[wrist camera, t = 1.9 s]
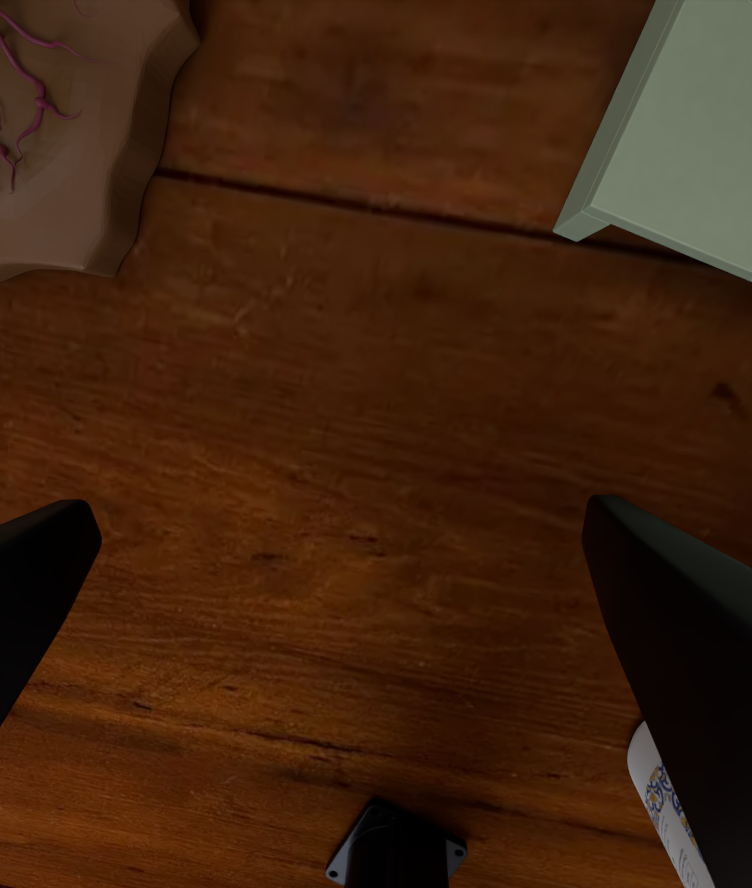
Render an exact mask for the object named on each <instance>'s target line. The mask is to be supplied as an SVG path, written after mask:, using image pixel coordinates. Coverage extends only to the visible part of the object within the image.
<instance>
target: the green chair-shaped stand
mask: <svg viewBox="0 0 752 888" xmlns="http://www.w3.org/2000/svg"><path fill="white" fill-rule="evenodd" d="M610 224H613V225H615V226H618V227H620V228H622V229H625V230H627V231H630V232H632V233H635V234H637V235H639V236H642V237H644V238H647V239H649V240H651V241H654V242H656V243H659V244H661V245H664V246H666V247H668V248H671V249H673V250H676V251H678V252H681V253H683V254H685V255H688V256H690V257H693V258H695V259H697V260H700V261H702V262H705V263H707V264H710V265H712V266H714V267H717V268H719V269H722V270H724V271H726V272H729V273H731V274H734V275H736V276H739V277H741V278H743V279H746V280H748V281H751V282H752V0H656V2H655V4H654V6H653V8H652V11H651V13H650V15H649V17H648V20H647V22H646V24H645V26H644V28H643V31H642V33H641V35H640V37H639V40H638V42H637V44H636V46H635V48H634V51H633V53H632V55H631V57H630V60H629V62H628V64H627V66H626V68H625V71H624V73H623V75H622V77H621V80H620V82H619V84H618V86H617V89H616V91H615V93H614V95H613V97H612V100H611V102H610V104H609V106H608V109H607V111H606V113H605V115H604V117H603V120H602V122H601V124H600V126H599V129H598V131H597V133H596V135H595V137H594V140H593V142H592V144H591V146H590V149H589V151H588V153H587V155H586V158H585V160H584V162H583V164H582V166H581V169H580V171H579V173H578V175H577V178H576V180H575V182H574V184H573V186H572V189H571V191H570V193H569V195H568V198H567V200H566V202H565V204H564V206H563V209H562V211H561V213H560V215H559V218H558V220H557V222H556V224H555V227H554V229H553V232H554V233H556V234H559V235H561V236H563V237H566V238H568V239H571V240H573V241H576V242H578V241H580V240H582V239H584V238H586V237H587V236H589V235H591V234H593V233H595V232H597V231H599V230H601V229H602V228H604V227H606V226H608V225H610Z"/></svg>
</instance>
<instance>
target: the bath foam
mask: <svg viewBox="0 0 752 888" xmlns="http://www.w3.org/2000/svg"><path fill="white" fill-rule="evenodd" d="M627 762H628V768H629V772H630V775H631V778H632V780H633V782H634V785H635V787H636V789H637V791H638V793H639V795H640V797H641V799H642V801H643V803H644V805H645V807H646V809H647V811H648V814H649V816H650V818H651V820H652V822H653V824H654V826H655V828H656V830H657V832H658V834H659V836H660V838H661V840H662V842H663V844H664V846H665V848H666V850H667V852H668V854H669V856H670V858H671V861H672V863H673V865H674V867H675V869H676V871H677V873H678V875H679V877H680V879H681V881H682V883H683V885H684V887H685V888H715V886H714V884H713V882H712V879H711V877H710V874H709V872H708V870H707V867H706V865H705V862H704V860H703V858H702V855H701V853H700V851H699V848H698V846H697V843H696V841H695V839H694V836H693V834H692V832H691V829H690V827H689V824H688V822H687V820H686V817H685V815H684V813H683V810H682V808H681V805H680V803H679V801H678V798H677V796H676V793H675V791H674V789H673V786H672V784H671V782H670V779H669V777H668V774H667V772H666V770H665V767H664V765H663V763H662V760H661V758H660V755H659V753H658V751H657V748H656V746H655V744H654V741H653V739H652V736H651V734H650V732H649V729H648V727H647V724H646V722H645V721H644V722H643V723H642V724H641V725H640V726H639V727H638V728H637V730H636V732H635V733H634V735H633V738H632V740H631V743H630V746H629V749H628V755H627Z"/></svg>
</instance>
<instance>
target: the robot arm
mask: <svg viewBox="0 0 752 888" xmlns="http://www.w3.org/2000/svg"><path fill="white" fill-rule="evenodd" d="M101 544H102V537H101V533H100V530H99V528H98V525H97V523H96V520H95V517H94V515H93V512H92V510H91V507H90V505H89V504H88V503H87V502H86V501H84V500H81V499H72V500H59V501H57V502H54V503H52V504H49V505H47V506H45V507H42V508H40V509H37V510H35V511H33V512H30V513H28V514H25V515H23V516H20V517H18V518H16V519H13V520H11V521H8V522H6V523H4V524H1V525H0V726H1V725H2V723H3V721H4V720H5V718H6V717H7V715H8V713H9V712H10V710H11V708H12V707H13V705H14V704H15V702H16V700H17V699H18V697H19V695H20V694H21V692H22V690H23V689H24V687H25V686H26V684H27V682H28V681H29V679H30V677H31V676H32V674H33V672H34V671H35V669H36V668H37V666H38V664H39V663H40V661H41V659H42V658H43V656H44V655H45V653H46V651H47V650H48V648H49V646H50V645H51V643H52V641H53V640H54V638H55V637H56V635H57V633H58V632H59V630H60V628H61V626H62V625H63V623H64V621H65V619H66V617H67V615H68V613H69V612H70V610H71V608H72V606H73V604H74V601H75V599H76V597H77V595H78V593H79V591H80V589H81V587H82V585H83V583H84V581H85V579H86V577H87V575H88V573H89V571H90V569H91V567H92V565H93V563H94V560H95V558H96V556H97V554H98V552H99V550H100V548H101ZM582 546H583V550H584V554H585V557H586V561H587V564H588V568H589V571H590V574H591V578H592V581H593V585H594V588H595V592H596V595H597V599H598V602H599V606H600V609H601V613H602V616H603V619H604V622H605V625H606V628H607V631H608V633H609V636H610V639H611V641H612V644H613V646H614V648H615V651H616V653H617V655H618V658H619V660H620V663H621V665H622V667H623V670H624V672H625V675H626V677H627V679H628V682H629V684H630V686H631V689H632V691H633V694H634V696H635V698H636V701H637V703H638V705H639V708H640V710H641V713H642V715H643V717H644V720H645V722H646V724H647V727H648V729H649V732H650V734H651V736H652V739H653V741H654V744H655V746H656V748H657V751H658V753H659V755H660V758H661V760H662V763H663V765H664V767H665V770H666V772H667V774H668V777H669V779H670V782H671V784H672V786H673V789H674V791H675V793H676V796H677V798H678V801H679V803H680V805H681V808H682V810H683V813H684V815H685V817H686V820H687V822H688V824H689V827H690V829H691V832H692V834H693V836H694V839H695V841H696V843H697V846H698V848H699V851H700V853H701V855H702V858H703V860H704V862H705V865H706V867H707V870H708V872H709V874H710V877H711V879H712V882H713V884H714V886H715V888H752V568H750V567H748V566H746V565H745V564H743V563H741V562H739V561H737V560H735V559H734V558H732V557H730V556H728V555H726V554H724V553H723V552H721V551H719V550H717V549H715V548H713V547H711V546H710V545H708V544H706V543H704V542H702V541H700V540H699V539H697V538H695V537H693V536H691V535H689V534H688V533H686V532H684V531H682V530H680V529H678V528H677V527H675V526H673V525H671V524H669V523H667V522H666V521H664V520H662V519H660V518H658V517H656V516H655V515H653V514H651V513H649V512H647V511H645V510H644V509H642V508H640V507H638V506H636V505H634V504H633V503H631V502H629V501H627V500H625V499H623V498H621V497H620V496H618V495H593V496H591V497H590V499H589V501H588V504H587V509H586V514H585V520H584V525H583V531H582ZM467 855H468V850H467V844H466V842H465V841H463V840H461V839H459V838H457V837H455V836H453V835H451V834H449V833H447V832H445V831H443V830H441V829H439V828H437V827H434V826H432V825H430V824H428V823H426V822H424V821H422V820H420V819H418V818H416V817H414V816H412V815H410V814H408V813H405V812H403V811H401V810H399V809H397V808H395V807H393V806H391V805H389V804H387V803H385V802H383V801H381V800H378V799H373V800H370V801H369V802H368V803H367V805H366V806H365V808H364V809H363V811H362V812H361V814H360V815H359V817H358V818H357V820H356V821H355V823H354V824H353V826H352V827H351V829H350V830H349V832H348V833H347V835H346V836H345V838H344V839H343V841H342V842H341V844H340V845H339V847H338V848H337V850H336V851H335V853H334V854H333V856H332V857H331V859H330V860H329V862H328V863H327V866H326V872H325V874H326V877H327V878H328V879H330V880H332V881H334V882H336V883H338V884H340V885H343V886H344V888H449V879H450V878H451V876H452V875H453V874H454V873H455V871H456V870H457V869H458V867H459V866H460V865H461V863H462V862H463V861H464V860H465V858H466V857H467Z"/></svg>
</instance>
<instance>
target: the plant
mask: <svg viewBox="0 0 752 888" xmlns="http://www.w3.org/2000/svg"><path fill="white" fill-rule="evenodd" d="M189 2H190V0H0V282H2V281H5V280H7V279H9V278H12V277H14V276H16V275H19V274H21V273H24V272H27V271H31V270H36V269H54V270H71V271H78V272H83V273H88V274H93V275H99V276H104V277H112V278H113V277H115V276H116V273H117V271H118V268H119V266H120V264H121V261H122V260H123V258H124V257H125V255H126V254H127V253H128V251H129V250H130V248H131V247H132V246H133V244H134V241H135V238H136V235H137V232H138V224H139V215H140V208H141V203H142V198H143V194H144V191H145V189H146V186H147V184H148V182H149V180H150V178H151V176H152V175H153V173H154V171H155V169H156V167H157V165H158V164H159V160H160V157H161V154H162V150H163V146H164V140H165V133H166V127H167V122H168V114H169V104H170V95H171V88H172V85H173V82H174V79H175V77H176V75H177V73H178V71H179V70H180V68H181V66H182V65H183V64H184V62H185V61H186V59H187V58H188V57H189V56H190V55H191V54H192V53H193V52H194V51H195V50H196V49H197V48H198V47H199V45H200V44H201V42H200V38H199V35H198V33H197V31H196V29H195V26H194V24H193V22H192V19H191V16H190V11H189Z"/></svg>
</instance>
